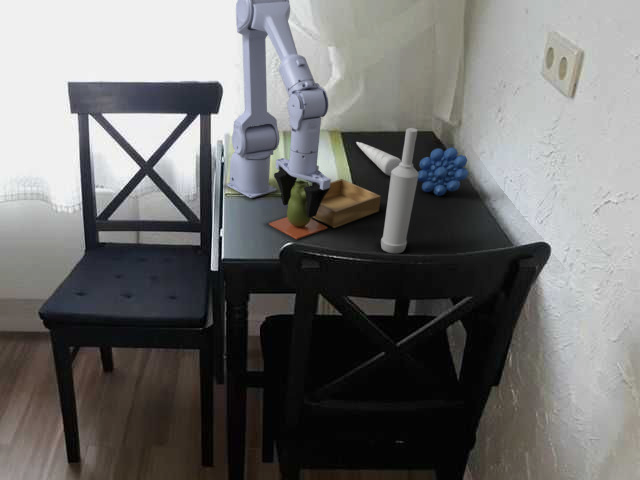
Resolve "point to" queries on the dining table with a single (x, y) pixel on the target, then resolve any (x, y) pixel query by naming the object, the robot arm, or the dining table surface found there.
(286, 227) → the coaster
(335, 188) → the wooden shallow box
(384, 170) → the unicorn horn
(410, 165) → the bottle
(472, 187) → the dining table surface
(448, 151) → the blue knobbed flower
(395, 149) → the dining table surface
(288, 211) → the pear
